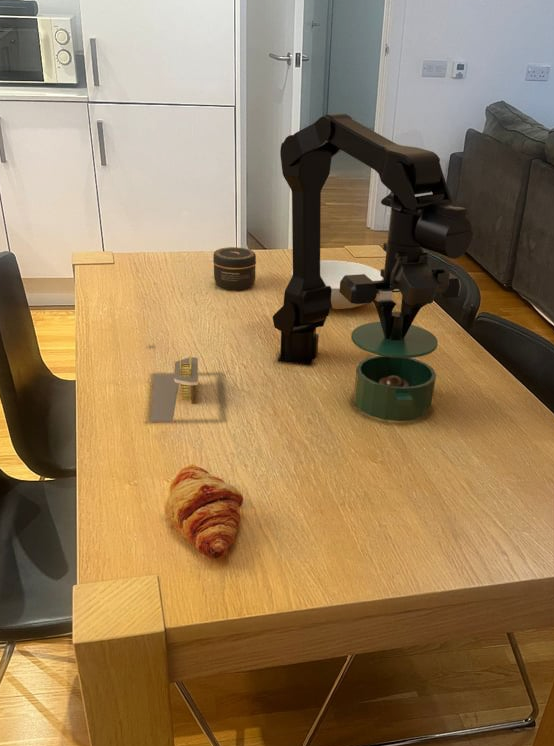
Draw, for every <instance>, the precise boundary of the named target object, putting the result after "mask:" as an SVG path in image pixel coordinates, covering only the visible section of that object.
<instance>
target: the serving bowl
mask: <svg viewBox="0 0 554 746" xmlns="http://www.w3.org/2000/svg"><path fill="white" fill-rule="evenodd" d="M290 274H291V276H290V278H292V276H293V268H292V269H291V271H290ZM360 274H365V275H366V276H367V277H368V278H370V279H371V280H372V281H382V280H383V277H382V276H380V274H381V270H379V269H377V268H374V267H373V266H370V265H367V264H363V263H359V262H354V261H347V260H337V259H336V260H334V259H333V260H332V259H320V276H321V278H322V279H323V281H324V283H325V285H326V286H330V287H331V289H332V293H331V304H332V308H330V310H331V309H333V310H344V309H353V308H357V307H362V306H364V305H366V304H367V303H364V304H353V303H350V302H349V301H348V300H347V299H346V298H345V297H344V296H343V295H342V294H341V293H340V292H339V290H340V281H341V280H342V278H343V277H344V276H345V275H360Z"/></svg>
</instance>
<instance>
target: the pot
mask: <svg viewBox="0 0 554 746" xmlns="http://www.w3.org/2000/svg"><path fill="white" fill-rule="evenodd" d="M391 375H396V376H399V377H400V378H401V379H404V380H406V381H407V382H408V384H409V387H397V386H388V385H384V384H380V383H379V380H380V379H382V378H385V377H388V376H391ZM354 378H355V379H354V389H353V403H354V405H355V407H356V408H358V409H359V411H361V412H362V413H364V414H366V415H369V416H370V417H373V418H377V419H380V420H384V421H394V422H403V421H405V422H406V421H413V420H416V419H421V418H423V417H425V416H427V414H429V413H430V411H431V408H432V405H433V398H434V392H435V386H436V381H437V380H436V379H437V374H436V371H435V369H434V368H433V367H432V366H431V365H429V364H428V363H426V362H424V361H422V360H419V359H417V358H415V357H414V358H393V357H385V356H380V355H374V356H370V357H366V358H365V359H362V360H360V361H359V362H358V364H357V366H356V367H355V377H354Z"/></svg>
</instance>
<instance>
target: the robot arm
mask: <svg viewBox="0 0 554 746" xmlns="http://www.w3.org/2000/svg"><path fill="white" fill-rule="evenodd" d="M279 150H280V151H279V152H280V154H279V155H280V163H281V172H282V177H283V178H284V181H285V182H286V183H287V185H288V187H289V188H290V191H291V230H292V232H291V233H292V235H291V236H292V241H291V242H292V244H291V245H292V269H293V276H292V277H290V280H289V281H288V284H287V285H286V288H285V290H284V294H283V304H282V306H281V307H280V308H279V309H278V310H277V311H276V313H274V314H273V315H272V322H273V327H274V329H276V330H278V331H280V353H279V356H278V357H277V361H278V362H280V363H282V362H283V363H289V364H296V365H306V366H311V365H312V364H313V361H314V360H315V359H316V358H317V356H318V354H319V338H320V337H319V333H317V328H321V327H324V325H325V322H326V320H327V317H329V315H330V312H331V311H330V310H331V308H332V304H331V293H332V289H331V287H330V286H326V285H325V283H324V281H323V279H322V278H321V276H320V260H321V222H322V221H321V218H322V217H321V216H322V210H321V209H322V207H321V206H322V205H321V203H322V201H321V200H322V190H323V188H324V185H325V184H326V182H327V180H328V178H329V176H330V173H331V166H332V159H333V158H334V157H336V156H337V155H338V154H339V153H340V152H341V151H342V152H344V153H345V154H347V155H349V156H350V157H352V158H354V159H355V160H357V161H359V162H360V163H362V164H364V165H366V166H367V167H369V168H370V169H372V170H373V171H375V172H376V173H377V174H378V176H379V180H380V182H381V183H382V185H384V186H385V187H386V188H387V189H388V190H389V191H390V192H389V194H388V195H386V196H385V197H383V198H382V199H381V200H380V204H381V205H382V206H385V207H388V208H390V215H389V224H388V231H387V232H388V233H387V241H386V242H383V246H382V250H383V251H384V252H385V260H384V268H381V269H380V272H381V274H380V276H382V277H383V280H382V281H372V280H371V279H370V278H368V277H367V276H366V275H365V274H360V275H345V276H344V277H343V278H342V280H341V281H340V290H339V292H340V293H341V294H342V295H343V296H344V297H345V298H346V299H347V300H348V301H349V302H350V303H353V304H364V303H366V304H372V303H373V305H374V307H375V309H376V312H377V316H378V319H379V322H380V323H381V326H382V330H383V333H384V336H385V338H386V339H389V337H390V332H391V321H392V312H393V310H394V309H395V307H396V305H397V303H396V302H395V301H394V300H393V293H400V294H401V305H400V312H401V313H404V314H405V318H404V325H403V333H402V338H404V337H405V335H406V333H407V332H408V330H409V328H410V326H411V325H413V322H414V320H415V319H416V317H417V315H418V313H419V312H420V310H421V309H422V308H423V307H425V306H427V305H431V304H433V303H434V301H435V298H436V296H437V295H440V296H441V297H442V299H448V298H449V299H451V298H459V297H460V293H461V289H462V283H461V280H460V279H459V277H457V276H455V275H454V274H453V273H451V272H450V271H449V270H448V268H446V267H439V268H435V267H432V268H431V267H429V264H428V259H429V256H428V251H429V252H433V253H435V254H439V255H442V256H444V257H447V258H450V259H455V260H456V259H458V258H460V257H463V255H464V254H465V253H466V252H467V250H468V249H469V247H470V245H471V243H472V239H473V234H474V231H473V227H472V222H471V221H470V220H469V219H468V218H467V212H468V210H467V208H465V207H461V206H453V205H452V204H453V200H452V196H451V193H450V189H449V187H448V184H447V182H446V178H445V175H444V171H443V168H442V165H441V159H440V157H439V156H438V154H437V153H435V152H434V151H432V150H428V149H424V148H421V147H418V146H417V147H415V146H408V145H401V144H398V143H396V142H394V141H392V140H390V139H389V138H387V137H385V136H383V135H382V134H380V133H378V132H376V131H374V130H372V129H371V128H369V127H367V126H365V125H364V124H361V123H360V122H358V121H357V120H354V119H353V118H352V116H350V115H349V114H347V113H326V114H323V116H321V117H319V118H318V119H317V120H316V121H315V122H313V123H312V124H310V125H307V126H306V127H304V128H302V129H299V130H298V131H296V132H295V133H294V134H291V135H287V137H285V139H284V140H283V142H282V143H281V144H280V149H279ZM416 195H417V196H416ZM426 250H427V251H426ZM364 305H365V304H364Z"/></svg>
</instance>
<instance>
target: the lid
mask: <svg viewBox="0 0 554 746" xmlns="http://www.w3.org/2000/svg"><path fill="white" fill-rule="evenodd" d="M404 318H405V314H404V313H401V311H392V321H391V332H390V337H389V339H386V338H385V336H384V333H383V330H382V326H381V323H380V321H374V322H368V323H364V324H361V325H359V326H356V327H355V328H354V329H353V330H352V331H351V336H350V339H351V341H352V343H353V344H354V345H355V346H356V347H357V348H358V349H361V350H362V351H364V352H367V353H370V354H372V355H375V356H385V357H393V358H414V359H415V358H420V357H424V356H427V355H430V354H432V353H434V352H435V351H436V350H437V348H438V345H439V342H438V338H437V337H436V336H435V335H434V334H433V333H432V332H431V331H429V330H427V329H425V328H423V327H421V326H417V325H415V324H411V326H410V328H409V330H408V332H407V333H406V335H405V337H404V338H402V333H403V325H404Z"/></svg>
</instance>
